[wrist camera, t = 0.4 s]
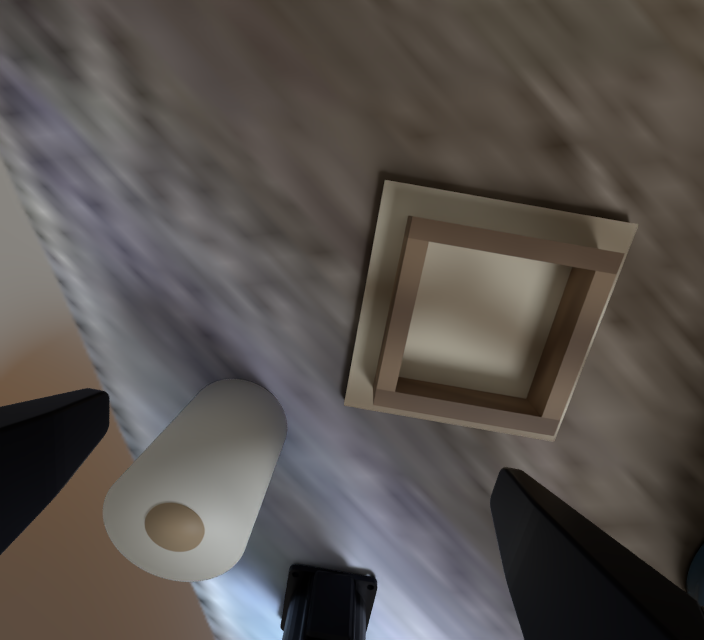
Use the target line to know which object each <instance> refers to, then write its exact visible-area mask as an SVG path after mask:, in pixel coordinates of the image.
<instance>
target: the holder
mask: <svg viewBox="0 0 704 640" xmlns="http://www.w3.org/2000/svg"><path fill="white" fill-rule="evenodd" d="M638 225H639V224H633V223H627V222H622V221H616V220H610V219H605V218H599V217H593V216H588V215H582V214H576V213H571V212H565V211H559V210H554V209H548V208H542V207H537V206H531V205H525V204H520V203H514V202H508V201H503V200H497V199H491V198H486V197H480V196H474V195H469V194H463V193H457V192H452V191H446V190H440V189H435V188H429V187H423V186H418V185H412V184H406V183H400V182H395V181H389V180H385V181H384V187H383V192H382V198H381V203H380V209H379V214H378V220H377V225H376V231H375V236H374V242H373V247H372V253H371V258H370V264H369V269H368V275H367V280H366V286H365V291H364V297H363V302H362V308H361V313H360V319H359V324H358V330H357V335H356V341H355V346H354V352H353V357H352V363H351V368H350V374H349V379H348V384H347V390H346V395H345V401H344V406H350V407H356V408H361V409H367V410H373V411H379V412H385V413H390V414H396V415H402V416H408V417H414V418H419V419H425V420H431V421H437V422H443V423H448V424H454V425H460V426H466V427H472V428H477V429H483V430H489V431H495V432H501V433H506V434H512V435H518V436H524V437H530V438H535V439H541V440H547V441H553V442H554V440H555V438H556V435H557V433H558V430H559V427H560V425H561V422H562V420H563V417H564V415H565V412H566V410H567V407H568V404H569V402H570V399H571V397H572V394H573V392H574V389H575V386H576V384H577V381H578V379H579V376H580V374H581V371H582V368H583V366H584V363H585V361H586V358H587V356H588V353H589V351H590V348H591V345H592V343H593V340H594V338H595V335H596V333H597V330H598V327H599V325H600V322H601V320H602V317H603V315H604V312H605V310H606V307H607V304H608V302H609V299H610V297H611V294H612V292H613V289H614V286H615V284H616V281H617V279H618V276H619V274H620V271H621V268H622V266H623V263H624V261H625V258H626V256H627V253H628V251H629V248H630V245H631V243H632V240H633V238H634V235H635V233H636V230H637V227H638Z"/></svg>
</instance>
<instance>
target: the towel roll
mask: <svg viewBox="0 0 704 640" xmlns="http://www.w3.org/2000/svg"><path fill="white" fill-rule="evenodd" d="M286 435H287V419H286V415H285V412H284V410H283V408H282V406H281V404H280V403H279V402H278V400H277V399H276V398H275V397H274V396H273V395H272V394H271V393H270V392H269V391H267V390H266V389H265V388H263V387H261V386H259V385H257V384H255V383H253V382H250V381H246V380H242V379H224V380H220V381H216V382H214V383H211V384H209V385H208V386H206V387H205V388H203V389H202V390H201V391H200V392H199V393H198V394H197V395H196V396H195V397H194V399H193V400H192V401H191V402H190V403H189V404H188V405H187V406H186V407H185V408H184V409H183V410H182V411H181V412H180V414H179V415H178V416H177V417H176V418H175V419H174V420H173V421H172V422H171V423H170V424H169V425H168V426H167V427H166V429H165V430H164V431H163V432H162V433H161V434H160V435H159V436H158V437H157V438H156V439H155V440H154V441H153V442H152V444H151V445H150V446H149V447H148V448H147V449H146V450H145V451H144V452H143V453H142V454H141V455H140V456H139V457H138V459H137V460H136V461H135V462H134V463H133V464H132V465H131V466H130V467H129V468H128V469H127V470H126V471H125V473H124V474H123V475H122V476H121V477H120V478H119V479H118V480H117V481H116V482H115V483H114V484H113V485H112V487H111V488H110V490H109V491H108V493H107V496H106V498H105V500H104V505H103V520H104V524H105V528H106V531H107V533H108V535H109V537H110V539H111V541H112V542H113V544H114V545H115V547H116V548H117V549H118V550H119V551H120V552H121V554H122V555H123V556H125V557H126V558H127V559H128V560H129V561H130V562H132V563H133V564H135V565H136V566H138V567H139V568H141V569H143V570H145V571H146V572H148V573H151V574H153V575H156V576H159V577H162V578H165V579H169V580H174V581H183V582H194V581H203V580H208V579H211V578H214V577H217V576H219V575H222V574H224V573H225V572H227V571H228V570H230V569H231V568H232V567H233V566H234V565H236V563H237V562H238V561H239V560H240V558H241V557H242V555H243V553H244V551H245V548H246V546H247V543H248V540H249V537H250V535H251V532H252V529H253V527H254V524H255V521H256V518H257V516H258V513H259V510H260V507H261V505H262V502H263V499H264V496H265V494H266V491H267V488H268V485H269V483H270V480H271V477H272V474H273V472H274V469H275V466H276V463H277V461H278V458H279V455H280V452H281V450H282V447H283V444H284V442H285V439H286Z"/></svg>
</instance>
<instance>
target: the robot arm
mask: <svg viewBox="0 0 704 640" xmlns="http://www.w3.org/2000/svg"><path fill="white" fill-rule="evenodd" d="M108 427H109V395H108V393H107V392H105V391H101V390H96V389H90V388H86V389H82V390H76V391H72V392H67V393H63V394H58V395H53V396H49V397H44V398H40V399H35V400H30V401H25V402H21V403H16V404H12V405H7V406H2V407H0V555H1V554H2V553H3V552H4V551H5V550H6V549H7V547H8V546H9V545H10V544H11V543H12V542H13V541H14V540H15V539H16V538H17V537H18V536H19V535H20V534H21V533H22V532H23V531H24V530H25V528H26V527H27V526H28V525H29V524H30V523H31V522H32V521H33V520H34V519H35V518H36V517H37V516H38V515H39V514H40V513H41V512H42V510H44V508H45V507H46V506H47V505H48V504H49V503H50V502H51V501H52V500H53V498H54V497H56V495H57V494H58V493H59V492H60V491H61V489H62V488H63V487H64V486H65V485H66V484H67V482H68V481H69V480H70V478H71V477H72V476H73V475H74V473H75V472H76V471H77V470H78V468H79V467H80V466H81V465H82V463H83V462H84V461H85V460H86V458H87V457H88V456H89V455H90V453H91V452H92V451H93V449H94V448H95V447H96V446H97V445H98V443H99V442H100V441H101V439H102V438H103V437H104V435H105V434H106V432H107V430H108ZM490 507H491V513H492V517H493V522H494V527H495V532H496V536H497V541H498V546H499V551H500V555H501V560H502V565H503V569H504V573H505V578H506V581H507V585H508V588H509V592H510V595H511V598H512V601H513V604H514V608H515V611H516V614H517V617H518V620H519V624H520V627H521V630H522V633H523V636H524V640H704V606H700V605H699V603H698V602H697V601H696V600H695V599H694V598H692V597H691V596H690V595H688V594H687V593H686V592H684V591H683V590H682V589H680V588H679V587H678V586H676V585H675V584H674V583H672V582H671V581H670V580H668V579H667V578H666V577H664V576H663V575H662V574H660V573H659V572H658V571H656V570H655V569H654V568H652V567H651V566H649V565H648V564H647V563H645V562H644V561H643V560H641V559H640V558H639V557H637V556H636V555H635V554H633V553H632V552H631V551H629V550H628V549H627V548H625V547H624V546H623V545H621V544H620V543H619V542H617V541H616V540H615V539H613V538H612V537H611V536H609V535H608V534H607V533H605V532H604V531H603V530H601V529H600V528H599V527H597V526H596V525H595V524H593V523H592V522H591V521H589V520H588V519H587V518H585V517H584V516H582V515H581V514H580V513H578V512H577V511H576V510H574V509H573V508H572V507H570V506H569V505H568V504H566V503H565V502H564V501H562V500H561V499H560V498H558V497H557V496H556V495H554V494H553V493H552V492H550V491H549V490H548V489H546V488H545V487H544V486H542V485H541V484H540V483H538V482H537V481H536V480H534V479H533V478H532V477H530V476H529V475H528V474H526V473H525V472H524V471H522V470H519V469H513V468H508V467H504V468H502V469H501V470H500V472H499V475H498V477H497V480H496V483H495V486H494V489H493V492H492V495H491V499H490ZM376 592H377V580H376V579H375V578H374V577H370V576H364V575H358V574H352V573H346V572H340V571H334V570H328V569H322V568H316V567H311V566H305V565H299V564H294V565H292V566H291V567H290V570H289V575H288V581H287V588H286V594H285V601H284V607H283V614H282V620H281V629H282V630H283V631H284V633H283V638H282V640H366V631H367V627H368V623H369V619H370V615H371V611H372V607H373V603H374V599H375V595H376Z"/></svg>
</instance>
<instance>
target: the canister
mask: <svg viewBox="0 0 704 640" xmlns="http://www.w3.org/2000/svg"><path fill="white" fill-rule="evenodd" d="M687 593H688V595H690V596H691V597H692V598H694V599H695V600H696V601H697V602H698V603H699V605H700V606H704V544H703V545H702V546H701V547H700V549H699V550H698V552H697V553H696V555H695V557H694V559H693V561H692V563H691V565H690V568H689V571H688V576H687Z"/></svg>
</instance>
